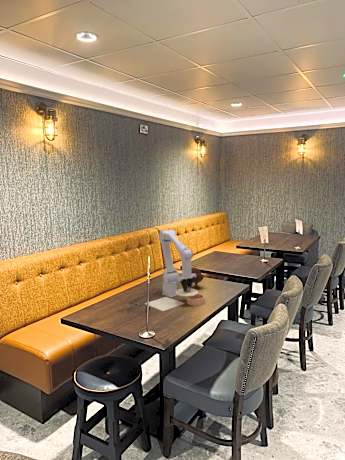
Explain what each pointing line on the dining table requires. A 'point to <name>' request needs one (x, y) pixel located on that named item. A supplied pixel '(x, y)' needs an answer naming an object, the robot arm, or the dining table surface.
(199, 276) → the brown miniature tree
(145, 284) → the dining table surface
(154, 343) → the dining table surface
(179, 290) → the lid
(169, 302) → the mat
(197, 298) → the bowl
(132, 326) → the dining table surface
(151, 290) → the dining table surface
